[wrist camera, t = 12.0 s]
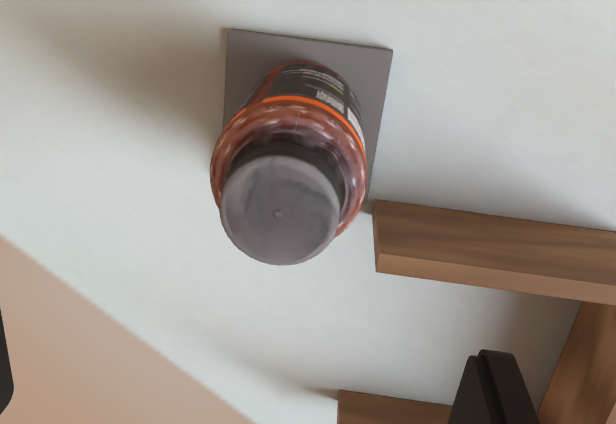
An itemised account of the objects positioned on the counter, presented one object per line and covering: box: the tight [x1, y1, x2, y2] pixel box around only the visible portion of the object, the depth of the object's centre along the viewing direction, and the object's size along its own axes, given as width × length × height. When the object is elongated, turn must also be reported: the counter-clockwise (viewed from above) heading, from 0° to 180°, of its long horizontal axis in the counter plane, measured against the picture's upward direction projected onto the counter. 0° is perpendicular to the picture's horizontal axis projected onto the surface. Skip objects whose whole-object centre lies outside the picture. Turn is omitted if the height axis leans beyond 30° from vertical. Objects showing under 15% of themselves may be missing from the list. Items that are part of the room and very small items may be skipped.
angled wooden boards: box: [337, 199, 616, 424], centre depth 30 cm, size 15×14×6 cm
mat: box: [223, 29, 393, 203], centre depth 28 cm, size 8×8×1 cm
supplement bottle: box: [210, 62, 367, 265], centre depth 23 cm, size 6×6×11 cm
